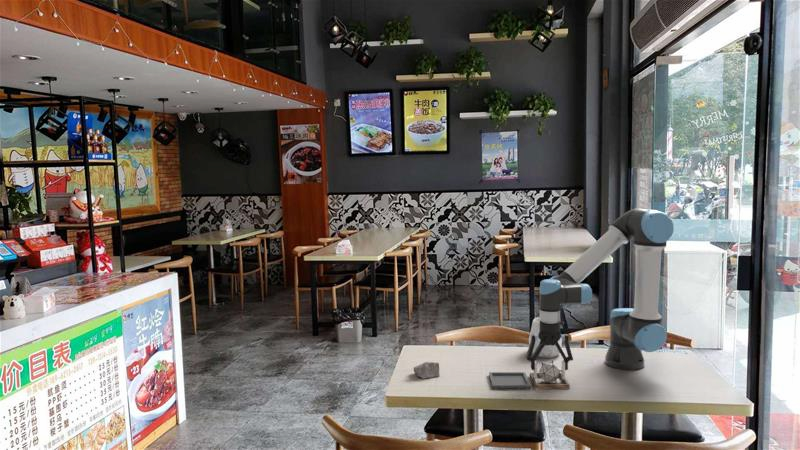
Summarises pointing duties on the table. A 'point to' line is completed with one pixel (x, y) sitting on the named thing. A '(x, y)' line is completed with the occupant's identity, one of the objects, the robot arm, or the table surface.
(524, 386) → the tray
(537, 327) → the vase
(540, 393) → the table surface
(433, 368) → the stone
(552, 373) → the game die
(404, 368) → the table surface
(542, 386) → the corral
